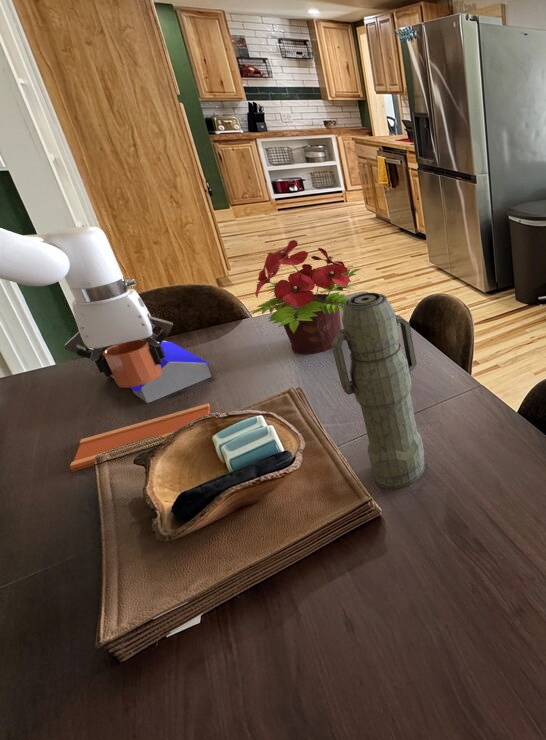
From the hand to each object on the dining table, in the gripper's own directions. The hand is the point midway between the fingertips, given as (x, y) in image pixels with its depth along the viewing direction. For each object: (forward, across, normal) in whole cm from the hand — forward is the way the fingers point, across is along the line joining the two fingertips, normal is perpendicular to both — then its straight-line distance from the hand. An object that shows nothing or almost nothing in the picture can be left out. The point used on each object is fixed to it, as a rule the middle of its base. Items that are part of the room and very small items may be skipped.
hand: (135, 367), depth 99 cm
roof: (+11, 0, -16) cm, 20 cm away
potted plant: (+11, -34, -10) cm, 37 cm away
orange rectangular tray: (+11, 0, +11) cm, 15 cm away
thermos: (+11, -39, +51) cm, 65 cm away
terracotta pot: (+3, 0, 0) cm, 3 cm away
